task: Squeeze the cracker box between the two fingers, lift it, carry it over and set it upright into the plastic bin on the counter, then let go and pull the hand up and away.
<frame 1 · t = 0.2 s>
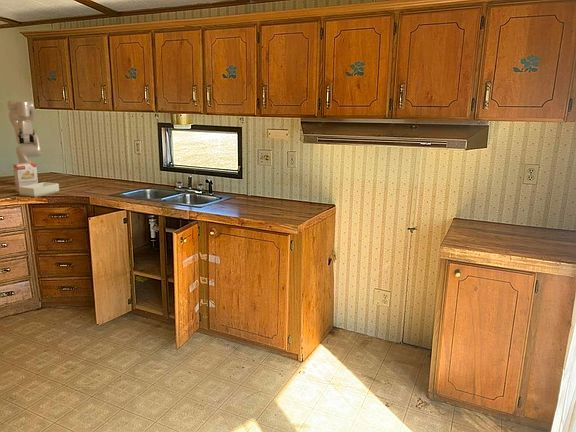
hand: (27, 142, 317), 36 cm above the worktop, tool pointing down, fingers open, 9 cm apart
cracker box: (27, 191, 326), on the worktop
bin: (40, 193, 320), on the worktop
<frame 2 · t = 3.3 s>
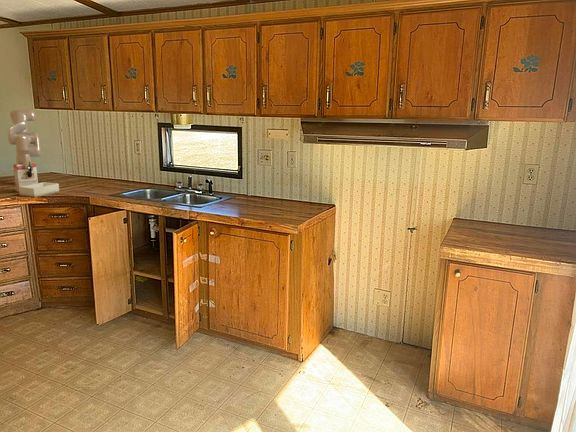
hand: (26, 176, 323), 11 cm above the worktop, tool pointing down, fingers closed on cracker box, 7 cm apart
cracker box: (27, 191, 326), on the worktop, touching gripper
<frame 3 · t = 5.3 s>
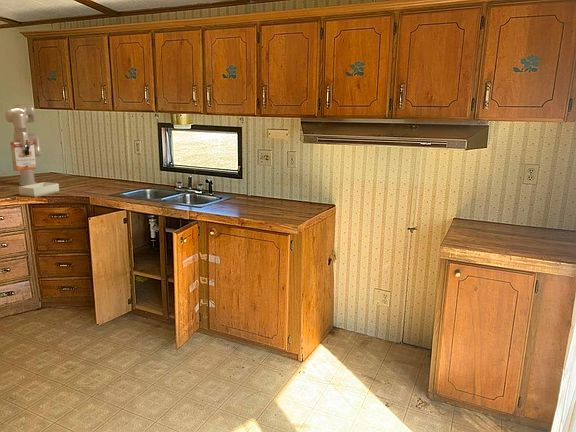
hand: (23, 154, 319), 28 cm above the worktop, tool pointing down, fingers closed on cracker box, 7 cm apart
cracker box: (25, 169, 322), point 16 cm above the worktop, touching gripper
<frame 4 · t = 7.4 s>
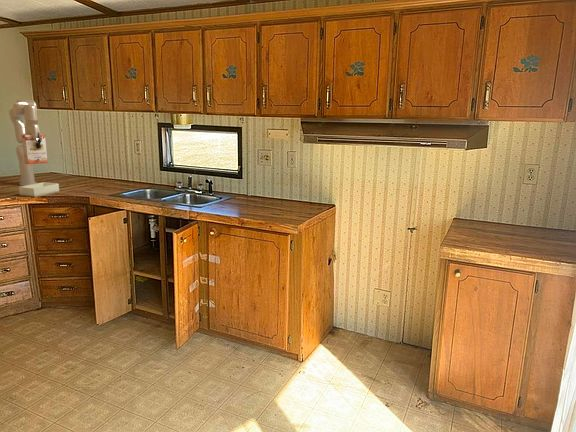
hand: (34, 147, 312), 33 cm above the worktop, tool pointing down, fingers closed on cracker box, 7 cm apart
cracker box: (36, 163, 314), point 22 cm above the worktop, touching gripper
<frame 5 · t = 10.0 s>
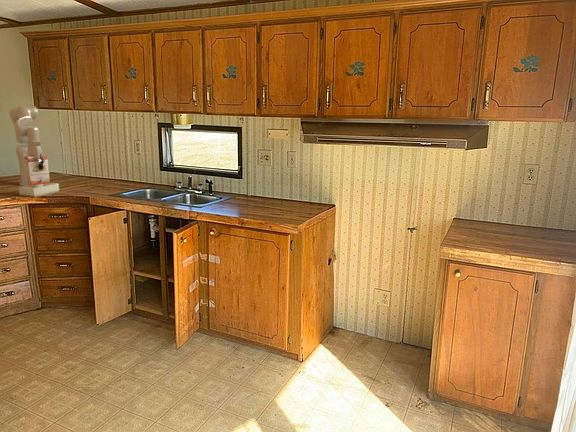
hand: (37, 168, 315), 18 cm above the worktop, tool pointing down, fingers closed on cracker box, 7 cm apart
cracker box: (39, 184, 318), point 7 cm above the worktop, touching gripper
when the fingers open (14 cm above the worktop, at t = 11.9 s): cracker box drops 2 cm, resting on bin.
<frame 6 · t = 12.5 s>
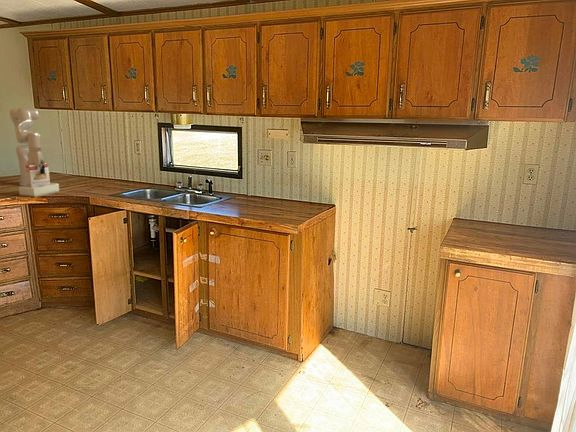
hand: (37, 173, 316), 15 cm above the worktop, tool pointing down, fingers open, 9 cm apart
cracker box: (39, 192, 320), point 1 cm above the worktop, touching bin
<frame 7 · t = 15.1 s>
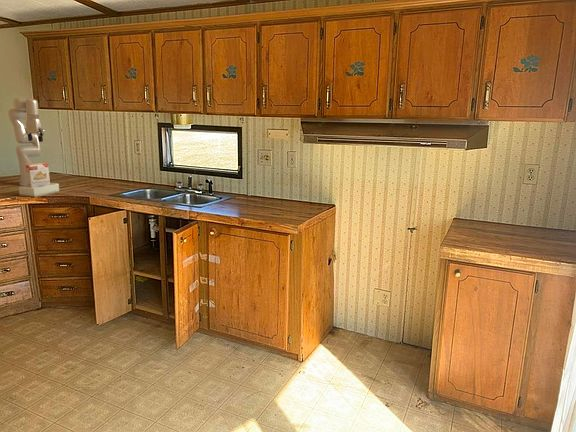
hand: (35, 141, 314), 38 cm above the worktop, tool pointing down, fingers open, 9 cm apart
nothing on the worktop moved.
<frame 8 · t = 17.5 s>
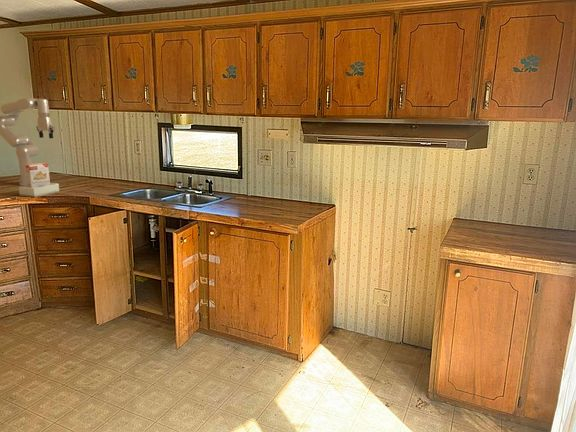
hand: (46, 137, 337), 38 cm above the worktop, tool pointing down, fingers open, 9 cm apart
nothing on the worktop moved.
at the end: cracker box inside the target area on the bin (0.2 cm from its centre), point 0.8 cm above the bin's base; cracker box tilted 0°; the gripper is holding nothing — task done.
